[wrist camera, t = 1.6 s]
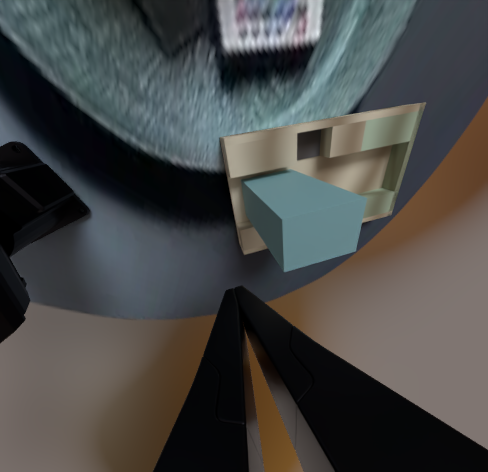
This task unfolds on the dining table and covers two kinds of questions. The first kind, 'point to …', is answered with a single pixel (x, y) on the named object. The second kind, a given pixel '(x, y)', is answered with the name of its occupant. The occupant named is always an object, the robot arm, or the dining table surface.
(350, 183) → the box
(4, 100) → the dining table surface
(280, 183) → the block
